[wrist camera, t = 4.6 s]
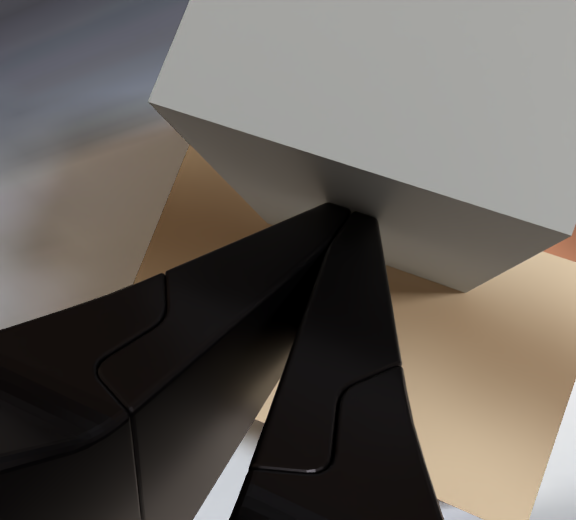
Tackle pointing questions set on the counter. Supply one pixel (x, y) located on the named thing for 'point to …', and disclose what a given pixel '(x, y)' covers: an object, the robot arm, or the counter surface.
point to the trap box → (437, 350)
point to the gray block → (390, 119)
